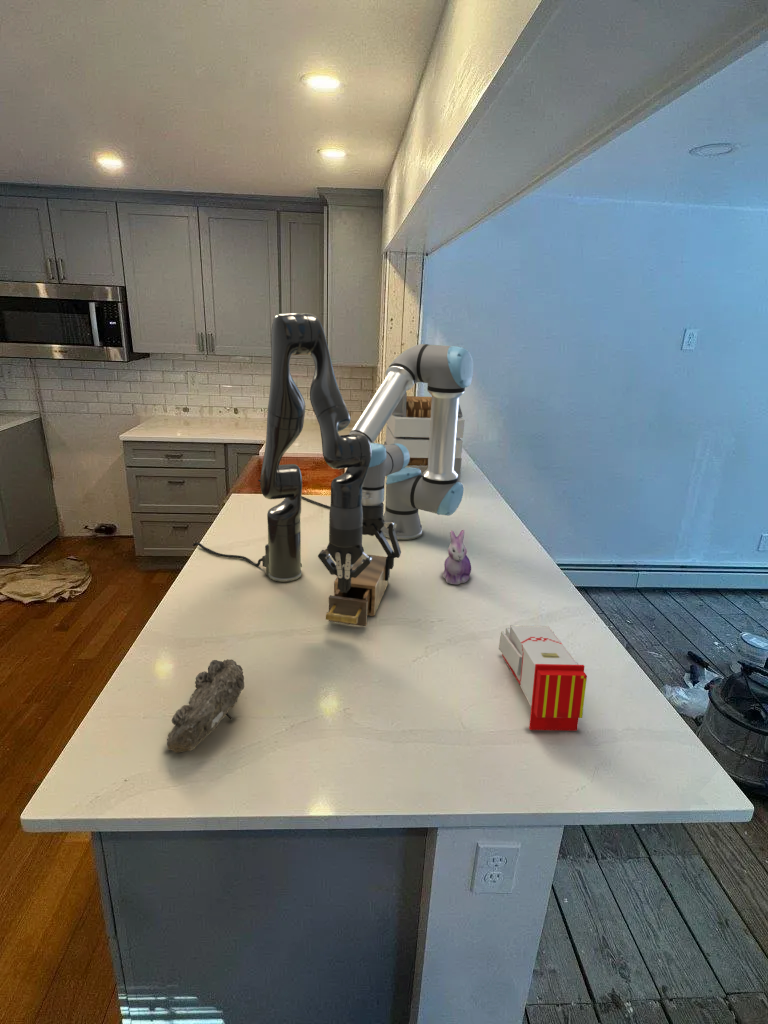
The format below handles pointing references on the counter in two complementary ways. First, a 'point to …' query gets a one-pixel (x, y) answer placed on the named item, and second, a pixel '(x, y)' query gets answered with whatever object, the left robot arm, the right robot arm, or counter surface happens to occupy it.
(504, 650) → the toy
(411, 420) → the grey slatted crate
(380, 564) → the cabinet
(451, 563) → the figurine
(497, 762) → the counter surface
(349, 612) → the drawer
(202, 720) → the fossil
